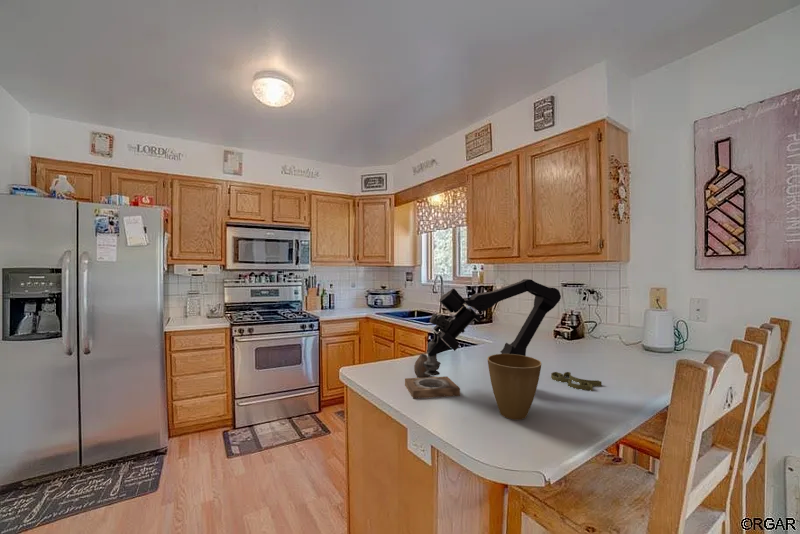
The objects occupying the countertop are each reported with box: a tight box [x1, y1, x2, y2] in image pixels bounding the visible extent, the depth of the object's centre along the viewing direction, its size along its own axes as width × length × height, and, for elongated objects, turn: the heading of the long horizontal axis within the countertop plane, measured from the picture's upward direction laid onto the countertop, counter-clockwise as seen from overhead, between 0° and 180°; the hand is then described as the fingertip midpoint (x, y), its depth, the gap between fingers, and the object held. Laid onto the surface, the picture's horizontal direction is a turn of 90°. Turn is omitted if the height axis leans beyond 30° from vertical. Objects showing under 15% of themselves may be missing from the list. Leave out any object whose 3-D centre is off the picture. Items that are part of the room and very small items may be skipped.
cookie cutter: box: [550, 371, 603, 392], centre depth 132 cm, size 18×12×2 cm, turn 29°
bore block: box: [404, 376, 461, 399], centre depth 121 cm, size 16×13×2 cm
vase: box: [413, 353, 431, 378], centre depth 136 cm, size 7×7×9 cm
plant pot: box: [487, 353, 543, 421], centre depth 102 cm, size 15×15×16 cm
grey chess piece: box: [424, 338, 441, 376], centre depth 121 cm, size 6×6×12 cm
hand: (428, 354), depth 121 cm, fingers closed on grey chess piece, 4 cm apart
